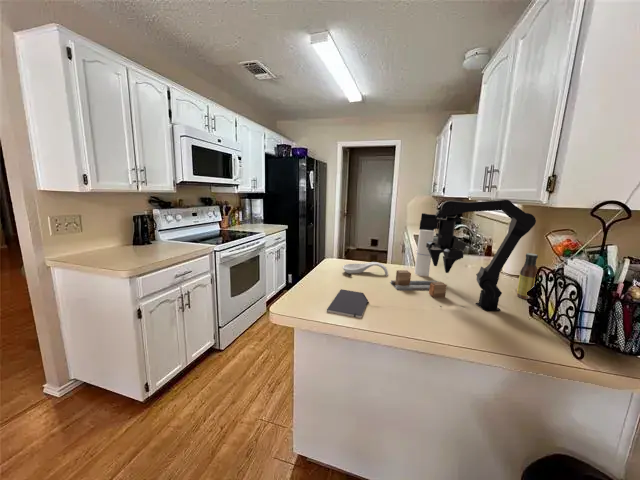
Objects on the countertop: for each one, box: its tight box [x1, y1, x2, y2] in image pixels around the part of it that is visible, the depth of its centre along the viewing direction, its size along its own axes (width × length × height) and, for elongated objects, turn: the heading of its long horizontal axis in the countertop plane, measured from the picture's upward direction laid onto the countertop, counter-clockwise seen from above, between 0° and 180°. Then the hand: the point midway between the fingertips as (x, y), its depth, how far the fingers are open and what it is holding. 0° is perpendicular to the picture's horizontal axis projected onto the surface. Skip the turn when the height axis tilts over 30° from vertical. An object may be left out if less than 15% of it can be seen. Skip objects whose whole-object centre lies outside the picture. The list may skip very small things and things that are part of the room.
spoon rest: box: [342, 261, 389, 276], centre depth 144 cm, size 24×12×7 cm, turn 77°
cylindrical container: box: [414, 229, 436, 277], centre depth 143 cm, size 7×7×25 cm
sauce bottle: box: [516, 252, 539, 300], centre depth 121 cm, size 7×6×20 cm
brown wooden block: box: [428, 281, 448, 299], centre depth 115 cm, size 3×6×7 cm, turn 96°
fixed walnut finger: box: [395, 269, 412, 285], centre depth 125 cm, size 3×6×7 cm, turn 96°
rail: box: [389, 279, 438, 292], centre depth 126 cm, size 10×22×3 cm, turn 96°
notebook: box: [326, 288, 369, 319], centre depth 108 cm, size 13×2×21 cm
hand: (440, 269), depth 114 cm, fingers open, 9 cm apart
